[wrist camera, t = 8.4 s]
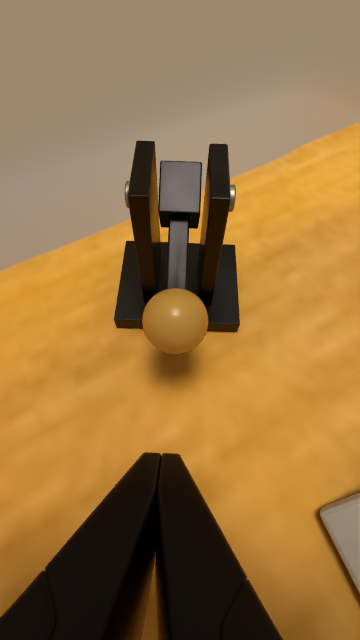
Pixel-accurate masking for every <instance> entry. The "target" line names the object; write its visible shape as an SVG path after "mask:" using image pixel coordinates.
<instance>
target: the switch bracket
mask: <svg viewBox="0 0 360 640" xmlns="http://www.w3.org/2000/svg"><path fill="white" fill-rule="evenodd" d="M157 193H158V192H157V176H156V158H155V142H154V141H137V142H136V147H135V153H134V160H133V165H132V172H131V178H130V181H127V182H126V184H125V202H126V206H127V208H129V209H130V215H131V222H132V228H133V235H134V241H126V246H125V252H124V259H123V265H122V272H121V278H120V285H119V291H118V298H117V304H116V310H115V317H114V321H115V324H116V327H123V328H143V324H142V318H143V312H144V309H145V307H146V305H147V303H148V302H149V300H150V299H151V298H152V297H153V296H154V295H156V294H157V293H159V292H161V291H163V290H166V283H167V259H168V242H160V228H159V212H158V194H157ZM235 196H236V188H235V185H230V177H229V159H228V145H227V144H210V146H209V156H208V167H207V176H206V187H205V197H204V207H203V218H202V228H201V238H200V244H197V243H188V267H187V290H188V291H190V292H192V293H194V294H195V295H196V296H197V297H198V298H199V299H200V300H201V301H202V302H203V304H204V306H205V308H206V310H207V314H208V328H207V331H228V332H237V330H238V328H239V325H240V321H239V304H238V288H237V271H236V255H235V245H224V244H223V239H224V234H225V228H226V223H227V218H228V212H229V211H230V212H232V211H233V209H234V205H235Z"/></svg>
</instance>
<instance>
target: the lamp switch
mask: <svg viewBox="0 0 360 640" xmlns="http://www.w3.org/2000/svg"><path fill="white" fill-rule="evenodd" d="M201 176H202V163H201V162H186V161H185V162H184V161H161V162H160V185H159V206H158V212H159V218H160V223H161V227H169V235H168V259H167V283H166V290H163V291H161V292H159V293H157V294H156V295H154V296H153V297H152V298H151V299H150V300H149V302H148V303H147V305H146V307H145V309H144V312H143V318H142V324H143V330H144V333H145V335H146V337H147V339H148V340H149V341H150V343H151V344H152V345H153V346H155V347H156V348H157V349H159V350H161V351H163V352H166V353H170V354H180V353H185V352H188V351H190V350H192V349H193V348H195V347H196V346H197V345H198V344H199V343H200V342H201V341H202V340H203V338H204V336H205V334H206V331H207V328H208V314H207V310H206V308H205V306H204V304H203V302H202V301H201V300H200V299H199V298H198V297H197V296H196V295H195V294H194V293H192V292H190V291H188V290H187V267H188V240H189V228H198V224H199V217H200V204H201Z"/></svg>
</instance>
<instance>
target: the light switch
mask: <svg viewBox="0 0 360 640" xmlns="http://www.w3.org/2000/svg"><path fill="white" fill-rule="evenodd" d="M320 517H321V519H322V521H323V523H324V525H325V527H326V529H327V531H328V533H329V535H330V537H331V539H332V541H333V543H334V545H335V547H336V548H337V550H338V552H339V554H340V556H341V558H342V560H343V562H344V564H345V566H346V568H347V570H348V572H349V574H350V576H351V578H352V580H353V582H354V584H355V586H356V588H357V590H358V592H359V594H360V492H359V493H356V494H354V495H351V496H349V497H346V498H343V499H341V500H338V501H335V502H333V503H330V504H328V505H325V506H323V507H322V508H321V510H320Z"/></svg>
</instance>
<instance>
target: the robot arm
mask: <svg viewBox="0 0 360 640" xmlns="http://www.w3.org/2000/svg"><path fill="white" fill-rule="evenodd" d="M155 554H156V603H157V633H158V640H283V638H282V636H281V635H280V633H279V632H278V630H277V628H276V627H275V625H274V623H273V621H272V620H271V618H270V616H269V615H268V613H267V611H266V610H265V608H264V606H263V604H262V603H261V601H260V599H259V597H258V596H257V594H256V592H255V590H254V588H253V587H252V585H251V583H250V581H249V580H246V579H247V576H246V574H245V572H244V571H243V569H242V567H241V565H240V563H239V562H238V560H237V558H236V556H235V554H234V553H233V551H232V549H231V547H230V545H229V543H228V542H227V540H226V538H225V536H224V534H223V533H222V531H221V529H220V527H219V525H218V524H217V522H216V520H215V518H214V516H213V514H212V513H211V511H210V509H209V507H208V505H207V504H206V502H205V500H204V498H203V496H202V495H201V493H200V491H199V489H198V487H197V485H196V484H195V482H194V480H193V478H192V476H191V475H190V473H189V471H188V469H187V467H186V466H185V464H184V462H183V460H182V458H181V457H180V455H179V454H172V453H164V454H162V456H161V454H160V453H147V452H146V453H143V454H142V455H141V456H140V458H139V459H138V460H137V461H136V462H135V463H134V465H133V466H132V467H131V468H130V469H129V470H128V472H127V473H126V474H125V475H124V476H123V477H122V479H121V480H120V481H119V482H118V483H117V484H116V485H115V487H114V488H113V489H112V490H111V491H110V492H109V494H108V495H107V496H106V497H105V498H104V499H103V501H102V502H101V503H100V504H99V505H98V506H97V508H96V509H95V510H94V511H93V512H92V513H91V515H90V516H89V517H88V518H87V519H86V520H85V522H84V523H83V524H82V525H81V526H80V527H79V529H78V530H77V531H76V532H75V533H74V534H73V536H72V537H71V538H70V539H69V540H68V541H67V543H66V544H65V545H64V546H63V547H62V548H61V550H60V551H59V552H58V553H57V554H56V555H55V557H54V558H53V559H52V560H51V561H50V562H49V564H48V565H47V566H46V567H45V571H41V572H40V574H39V575H38V576H37V577H36V578H35V580H34V581H33V582H32V583H31V584H30V585H29V587H28V588H27V589H26V590H25V591H24V592H23V593H22V594H21V596H20V597H19V598H18V599H17V600H16V601H15V602H14V603H13V604H12V606H11V607H10V608H9V609H8V610H7V611H6V612H5V613H4V614H3V616H2V617H1V618H0V640H141V636H142V630H143V625H144V619H145V614H146V608H147V603H148V598H149V592H150V587H151V581H152V576H153V570H154V563H155Z"/></svg>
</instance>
